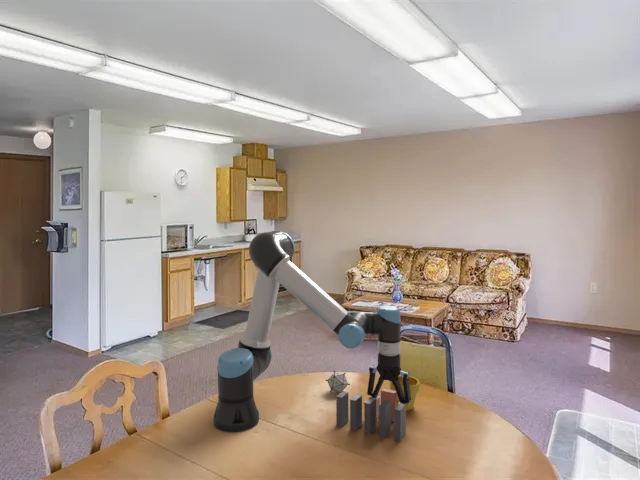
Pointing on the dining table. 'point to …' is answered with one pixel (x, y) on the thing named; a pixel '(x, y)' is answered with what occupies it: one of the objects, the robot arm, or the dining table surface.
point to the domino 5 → (384, 418)
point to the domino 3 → (370, 415)
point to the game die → (337, 382)
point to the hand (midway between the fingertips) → (388, 418)
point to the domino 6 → (399, 422)
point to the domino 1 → (342, 409)
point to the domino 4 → (390, 399)
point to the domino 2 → (355, 412)
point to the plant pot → (413, 390)
